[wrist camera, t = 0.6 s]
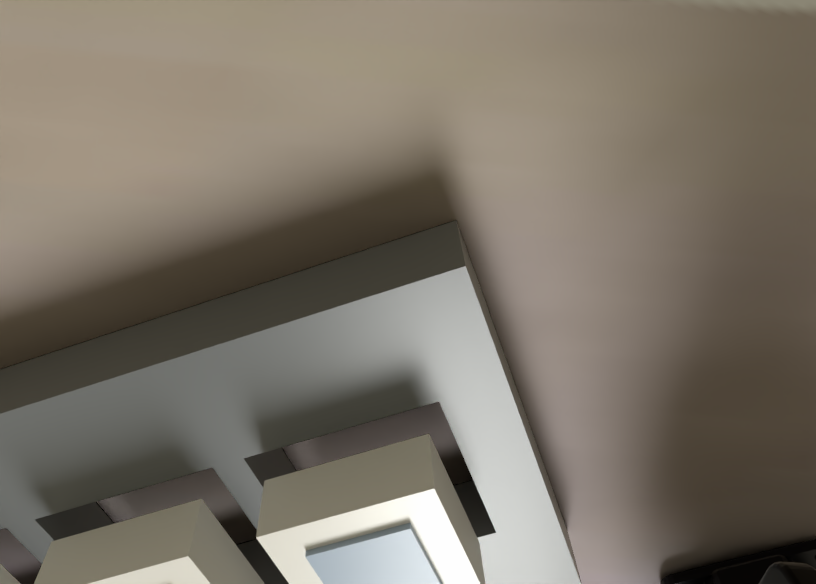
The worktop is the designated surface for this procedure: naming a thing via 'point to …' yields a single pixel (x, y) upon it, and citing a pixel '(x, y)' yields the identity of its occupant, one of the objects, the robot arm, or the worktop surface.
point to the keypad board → (284, 402)
